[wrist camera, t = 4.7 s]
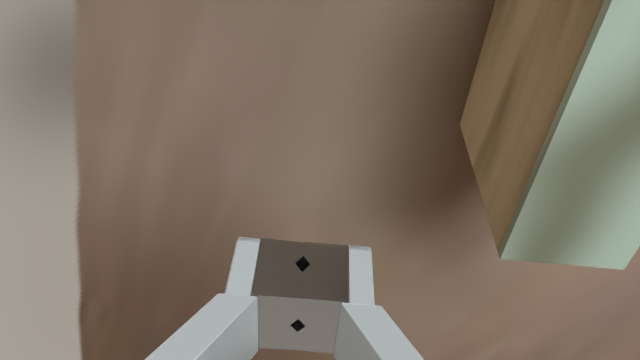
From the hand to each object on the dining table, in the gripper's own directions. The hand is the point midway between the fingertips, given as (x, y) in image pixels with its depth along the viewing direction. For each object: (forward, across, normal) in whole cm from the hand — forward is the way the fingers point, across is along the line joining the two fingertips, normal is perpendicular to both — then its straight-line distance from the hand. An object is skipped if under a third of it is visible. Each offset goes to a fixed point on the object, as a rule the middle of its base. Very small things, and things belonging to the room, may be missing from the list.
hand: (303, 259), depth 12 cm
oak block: (+16, -10, 0) cm, 19 cm away
